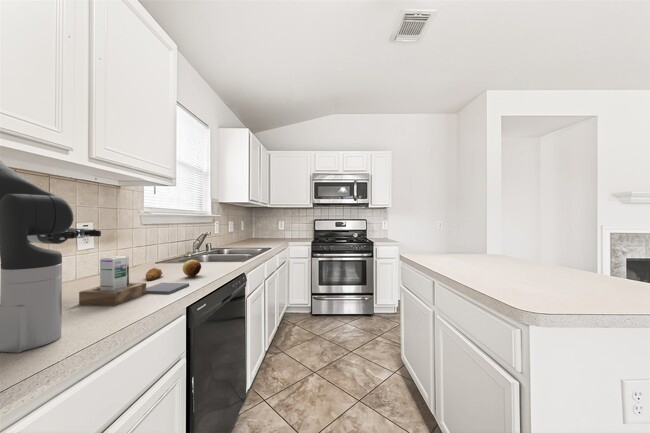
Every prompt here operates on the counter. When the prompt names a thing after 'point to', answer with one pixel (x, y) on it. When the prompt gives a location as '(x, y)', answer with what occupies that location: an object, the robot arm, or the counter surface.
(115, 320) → the counter surface
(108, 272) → the syrup box
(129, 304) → the counter surface
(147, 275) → the croissant
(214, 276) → the counter surface
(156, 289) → the charcoal mat
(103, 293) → the walnut holder
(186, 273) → the fruit
